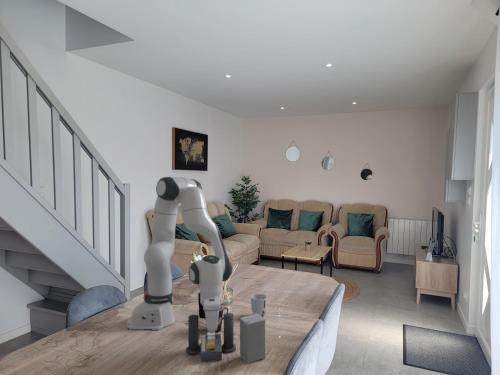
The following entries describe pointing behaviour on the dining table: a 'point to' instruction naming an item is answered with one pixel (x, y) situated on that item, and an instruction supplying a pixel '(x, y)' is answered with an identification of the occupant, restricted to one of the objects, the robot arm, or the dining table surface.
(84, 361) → the dining table surface
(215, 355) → the dark grey boxy piece
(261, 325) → the skincare box
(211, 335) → the paddle
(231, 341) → the post
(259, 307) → the cup
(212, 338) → the paddle mid
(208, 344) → the paddle
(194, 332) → the post
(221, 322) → the coffee mug
